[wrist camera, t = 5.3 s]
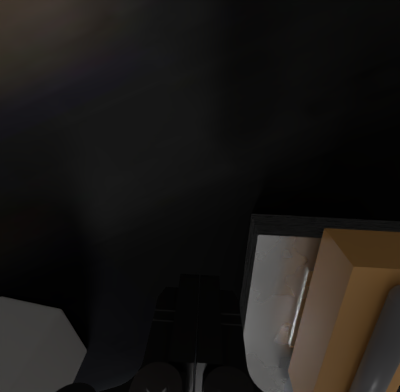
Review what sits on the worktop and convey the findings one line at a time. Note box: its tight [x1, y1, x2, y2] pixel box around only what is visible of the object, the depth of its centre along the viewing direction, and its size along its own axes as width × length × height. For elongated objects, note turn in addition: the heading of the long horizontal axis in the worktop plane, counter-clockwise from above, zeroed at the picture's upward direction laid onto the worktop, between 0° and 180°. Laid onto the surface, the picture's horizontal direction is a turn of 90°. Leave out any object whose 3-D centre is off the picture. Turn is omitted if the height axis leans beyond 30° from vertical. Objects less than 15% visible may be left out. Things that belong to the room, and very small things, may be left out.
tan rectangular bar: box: [284, 228, 400, 392], centre depth 14 cm, size 14×4×4 cm, turn 177°
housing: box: [240, 213, 400, 392], centre depth 20 cm, size 22×10×3 cm, turn 177°
